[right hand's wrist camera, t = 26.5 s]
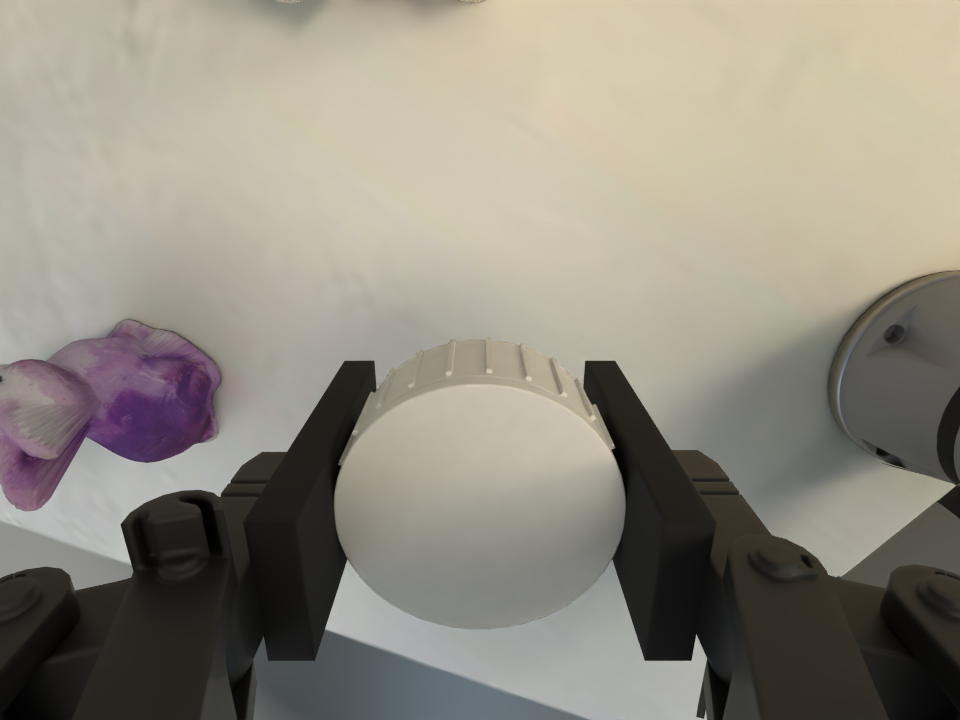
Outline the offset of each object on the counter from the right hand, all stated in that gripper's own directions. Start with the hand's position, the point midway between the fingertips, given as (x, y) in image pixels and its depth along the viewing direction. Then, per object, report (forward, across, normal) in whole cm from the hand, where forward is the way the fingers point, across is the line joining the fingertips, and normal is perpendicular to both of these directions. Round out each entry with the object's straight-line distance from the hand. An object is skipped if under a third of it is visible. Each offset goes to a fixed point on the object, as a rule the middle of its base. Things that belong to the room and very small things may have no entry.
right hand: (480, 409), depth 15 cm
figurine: (+26, +25, +10) cm, 37 cm away
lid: (-4, 0, 0) cm, 4 cm away
